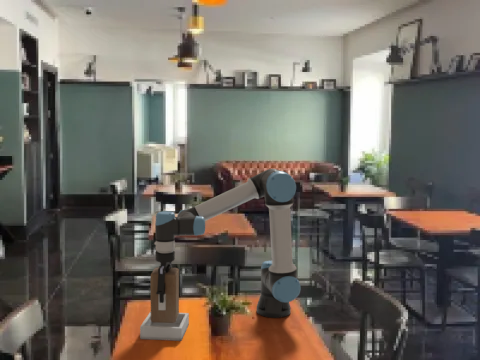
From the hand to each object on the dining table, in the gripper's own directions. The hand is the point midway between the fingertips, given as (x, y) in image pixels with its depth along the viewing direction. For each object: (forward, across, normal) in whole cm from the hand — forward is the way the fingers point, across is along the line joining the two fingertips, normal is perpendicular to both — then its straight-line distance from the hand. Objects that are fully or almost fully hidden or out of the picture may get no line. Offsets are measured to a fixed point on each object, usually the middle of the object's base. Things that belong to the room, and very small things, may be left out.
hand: (165, 305), depth 216 cm
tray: (+11, 0, 0) cm, 11 cm away
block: (+6, 0, 0) cm, 6 cm away
